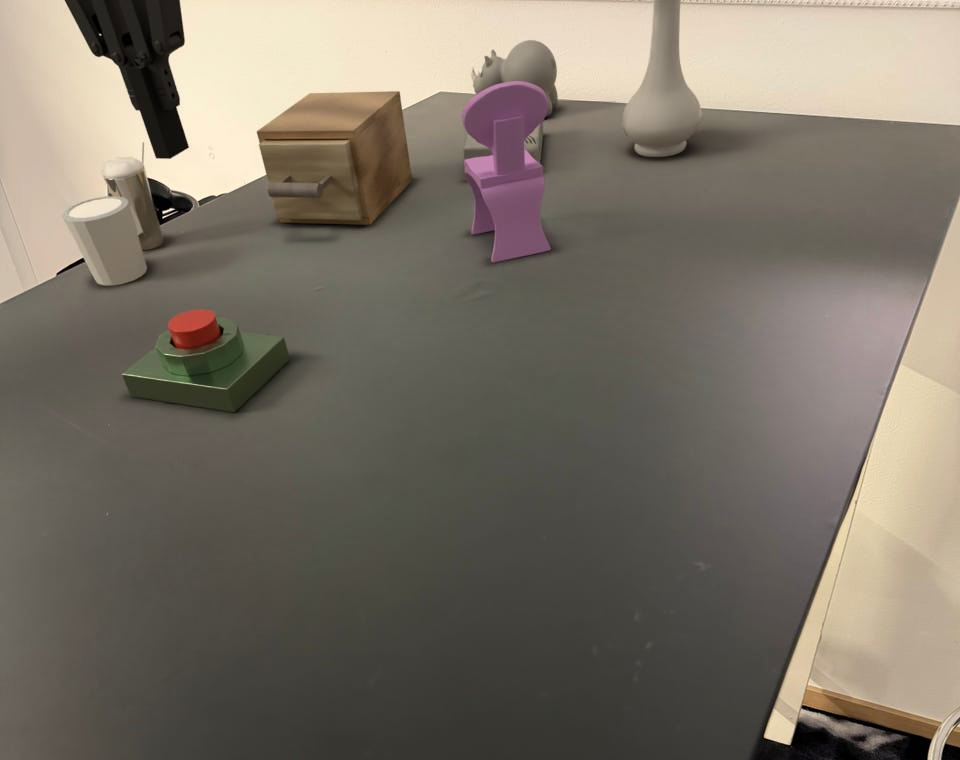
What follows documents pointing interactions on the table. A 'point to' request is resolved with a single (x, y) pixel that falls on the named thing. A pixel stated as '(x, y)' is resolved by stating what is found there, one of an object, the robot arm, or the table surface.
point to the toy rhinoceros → (521, 69)
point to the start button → (194, 329)
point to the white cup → (107, 239)
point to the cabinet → (354, 142)
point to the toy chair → (507, 167)
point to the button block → (208, 369)
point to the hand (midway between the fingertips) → (172, 152)
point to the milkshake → (135, 196)
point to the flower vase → (662, 92)
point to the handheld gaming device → (478, 150)
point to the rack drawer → (312, 179)
